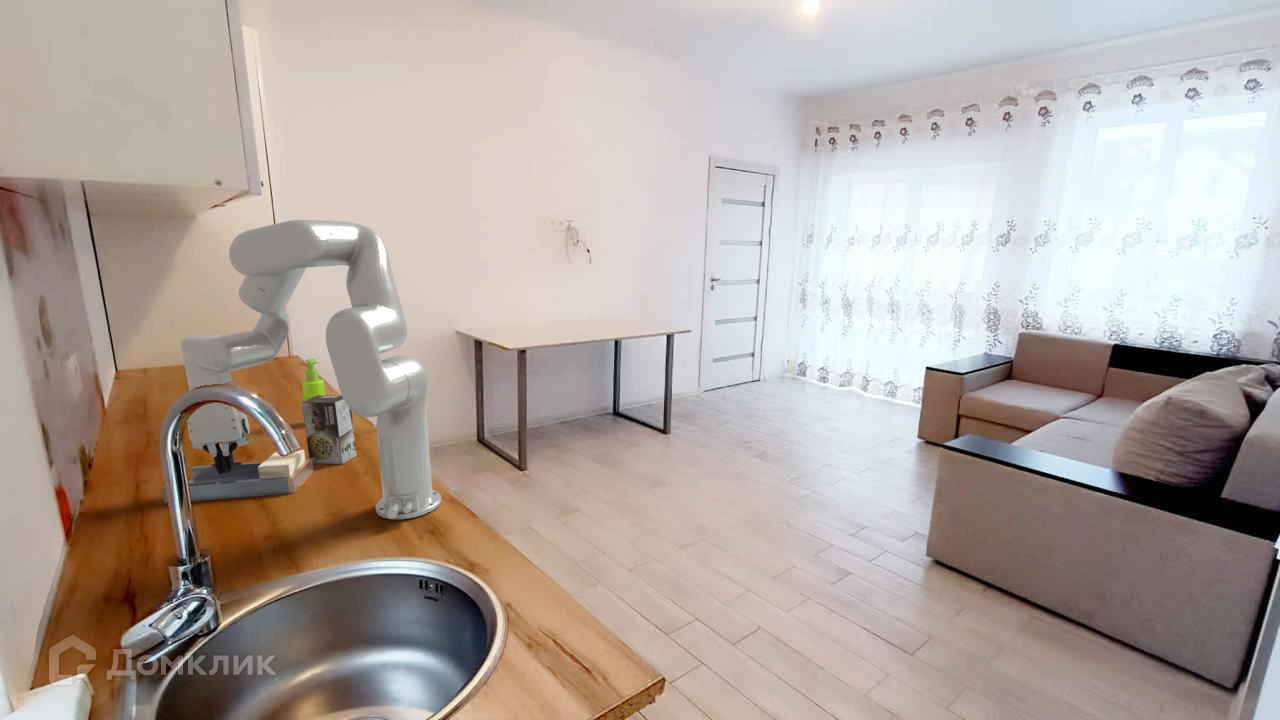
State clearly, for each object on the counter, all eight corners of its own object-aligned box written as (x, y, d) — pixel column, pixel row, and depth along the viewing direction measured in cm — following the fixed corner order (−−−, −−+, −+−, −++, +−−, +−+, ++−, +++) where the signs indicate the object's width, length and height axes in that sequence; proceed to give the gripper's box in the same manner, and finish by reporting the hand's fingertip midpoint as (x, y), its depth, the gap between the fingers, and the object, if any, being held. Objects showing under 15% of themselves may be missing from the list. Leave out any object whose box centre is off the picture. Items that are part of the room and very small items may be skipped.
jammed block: (291, 485, 125) (288, 464, 124) (261, 488, 124) (257, 466, 123) (306, 469, 134) (304, 449, 133) (278, 471, 133) (276, 451, 132)
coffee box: (357, 455, 147) (351, 395, 143) (342, 464, 140) (335, 402, 137) (324, 454, 148) (317, 394, 144) (308, 463, 141) (300, 401, 138)
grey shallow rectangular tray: (294, 493, 124) (292, 476, 124) (164, 503, 120) (161, 486, 119) (313, 472, 136) (311, 456, 135) (196, 480, 131) (193, 464, 130)
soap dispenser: (310, 428, 168) (302, 362, 164) (304, 423, 173) (296, 359, 169) (332, 424, 172) (324, 359, 168) (325, 419, 177) (318, 356, 173)
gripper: (258, 385, 128) (270, 462, 131) (182, 390, 125) (197, 468, 128) (242, 393, 120) (255, 474, 124) (162, 398, 117) (178, 481, 121)
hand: (226, 471), depth 126 cm, fingers closed
